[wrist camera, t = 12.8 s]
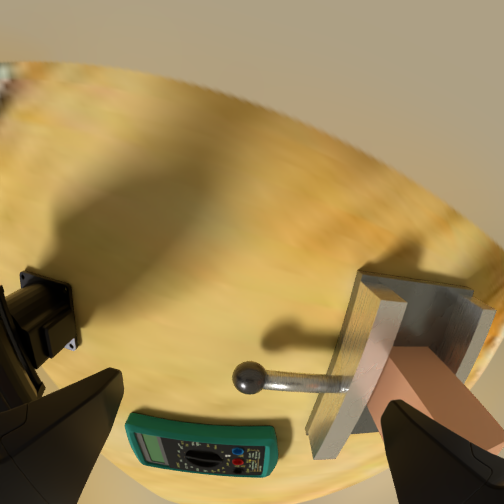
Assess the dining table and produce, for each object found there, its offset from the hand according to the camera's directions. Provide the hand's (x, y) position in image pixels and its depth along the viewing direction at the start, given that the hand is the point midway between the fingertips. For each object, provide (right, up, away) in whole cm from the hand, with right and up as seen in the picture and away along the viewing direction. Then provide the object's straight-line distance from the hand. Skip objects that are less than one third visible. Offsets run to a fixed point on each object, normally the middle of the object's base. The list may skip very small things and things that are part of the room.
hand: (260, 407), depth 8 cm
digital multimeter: (-5, -15, +16) cm, 22 cm away
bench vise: (+8, -5, +13) cm, 16 cm away
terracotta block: (+12, -5, +12) cm, 18 cm away
